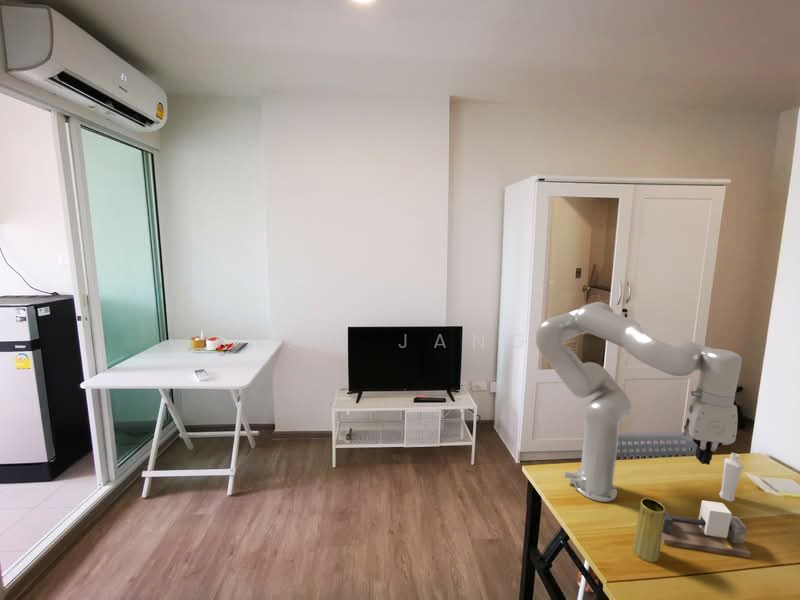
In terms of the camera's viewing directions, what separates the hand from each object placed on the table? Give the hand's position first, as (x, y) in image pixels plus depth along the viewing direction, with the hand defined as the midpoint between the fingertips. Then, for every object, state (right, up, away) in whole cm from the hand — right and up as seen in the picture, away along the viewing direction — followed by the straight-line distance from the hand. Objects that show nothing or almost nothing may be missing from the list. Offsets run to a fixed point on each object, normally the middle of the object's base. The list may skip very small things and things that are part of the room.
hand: (702, 461), depth 102 cm
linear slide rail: (+1, -23, +4) cm, 23 cm away
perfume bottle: (+23, -20, +20) cm, 36 cm away
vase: (-16, -24, -1) cm, 29 cm away
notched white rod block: (+5, -20, +3) cm, 21 cm away
